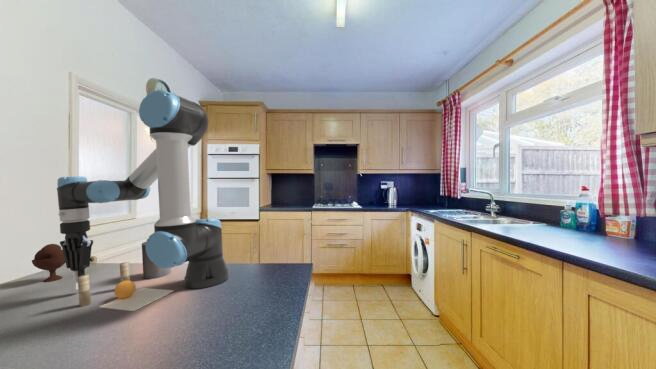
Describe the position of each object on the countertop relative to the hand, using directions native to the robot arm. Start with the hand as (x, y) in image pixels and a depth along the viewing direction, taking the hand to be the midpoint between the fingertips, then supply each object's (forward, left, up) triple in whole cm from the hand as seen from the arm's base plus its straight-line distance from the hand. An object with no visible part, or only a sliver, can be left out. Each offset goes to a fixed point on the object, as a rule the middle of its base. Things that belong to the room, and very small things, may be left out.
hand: (79, 288), depth 92 cm
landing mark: (-27, 0, -2) cm, 27 cm away
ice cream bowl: (+31, -9, -2) cm, 32 cm away
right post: (-13, -6, -2) cm, 15 cm away
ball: (-21, 0, +1) cm, 22 cm away
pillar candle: (-12, -20, -2) cm, 23 cm away
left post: (-13, +6, -2) cm, 15 cm away
